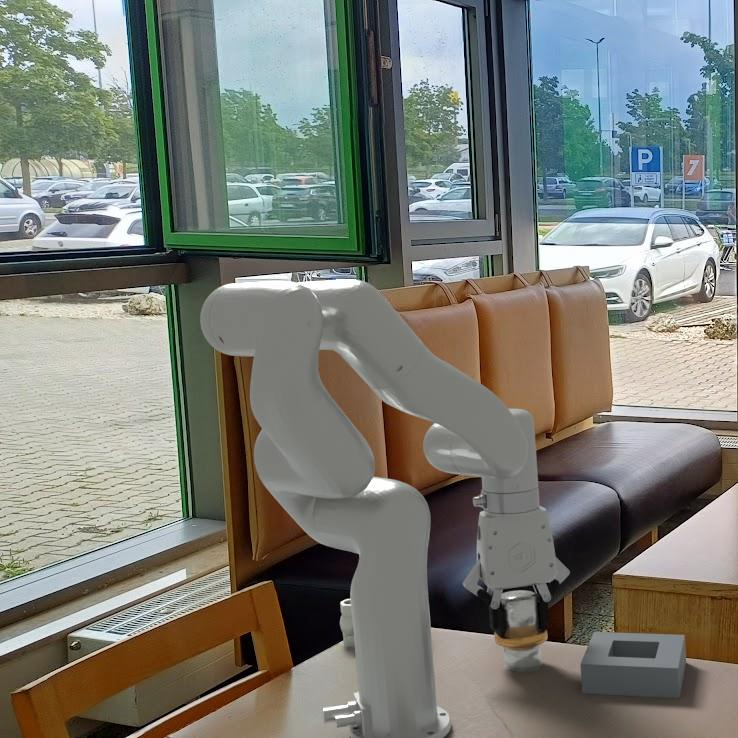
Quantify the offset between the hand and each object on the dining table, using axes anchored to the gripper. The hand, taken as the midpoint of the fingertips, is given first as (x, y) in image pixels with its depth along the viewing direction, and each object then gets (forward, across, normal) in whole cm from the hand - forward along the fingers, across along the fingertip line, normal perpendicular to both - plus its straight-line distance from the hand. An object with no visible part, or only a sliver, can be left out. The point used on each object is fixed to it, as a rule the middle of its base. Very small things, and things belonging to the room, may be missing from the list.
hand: (520, 629), depth 156 cm
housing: (+6, +12, -10) cm, 17 cm away
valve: (+7, -16, +20) cm, 26 cm away
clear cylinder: (+5, 0, 0) cm, 5 cm away
